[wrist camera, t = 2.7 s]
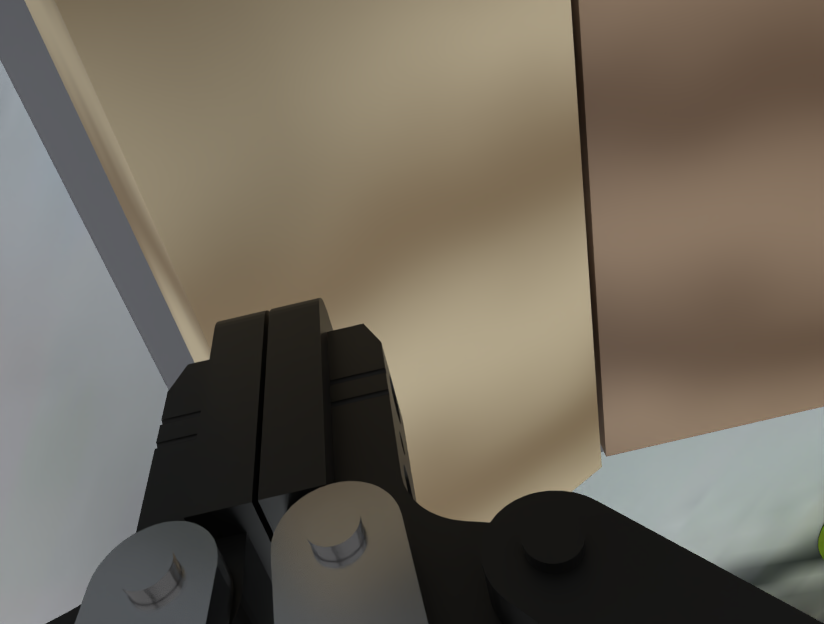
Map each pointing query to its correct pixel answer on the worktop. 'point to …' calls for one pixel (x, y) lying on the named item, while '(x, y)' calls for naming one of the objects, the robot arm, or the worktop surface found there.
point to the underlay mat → (89, 186)
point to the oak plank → (367, 202)
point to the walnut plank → (702, 211)
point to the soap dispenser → (821, 543)
